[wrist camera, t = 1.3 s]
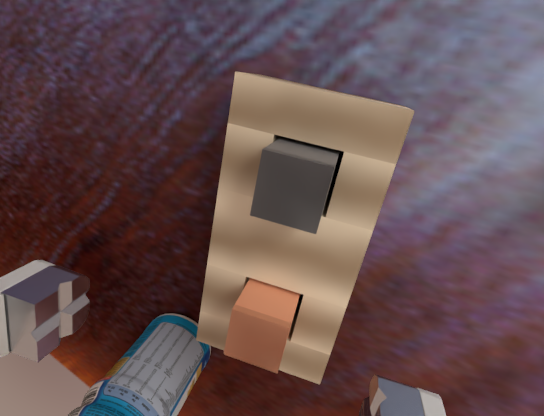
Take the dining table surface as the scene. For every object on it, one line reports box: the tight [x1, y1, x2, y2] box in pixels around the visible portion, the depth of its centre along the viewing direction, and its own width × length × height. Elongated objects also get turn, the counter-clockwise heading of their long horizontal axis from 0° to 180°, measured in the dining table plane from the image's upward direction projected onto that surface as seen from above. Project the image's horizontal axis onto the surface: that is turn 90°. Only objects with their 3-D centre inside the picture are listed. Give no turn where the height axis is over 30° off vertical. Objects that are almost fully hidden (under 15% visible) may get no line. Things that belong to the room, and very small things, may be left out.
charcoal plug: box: [250, 137, 340, 234], centre depth 23 cm, size 4×4×6 cm
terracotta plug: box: [224, 278, 300, 374], centre depth 28 cm, size 4×4×6 cm
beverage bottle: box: [68, 313, 211, 416], centre depth 32 cm, size 8×8×20 cm
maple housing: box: [196, 72, 414, 384], centre depth 29 cm, size 24×12×6 cm, turn 169°
